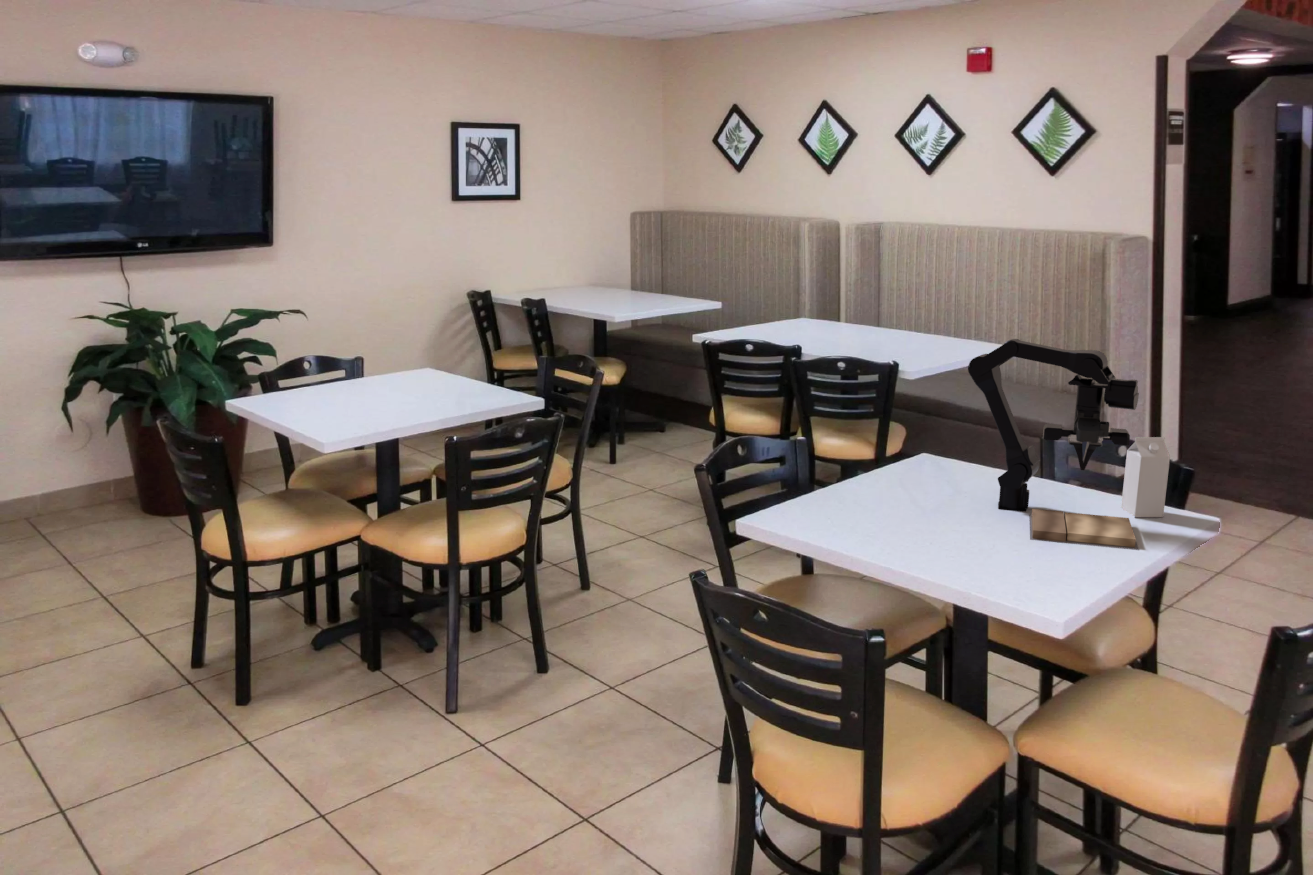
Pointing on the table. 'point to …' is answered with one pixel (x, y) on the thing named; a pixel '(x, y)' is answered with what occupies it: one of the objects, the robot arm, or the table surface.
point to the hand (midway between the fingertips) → (1082, 470)
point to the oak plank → (1099, 529)
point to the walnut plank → (1048, 525)
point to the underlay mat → (1081, 542)
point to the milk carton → (1146, 477)
